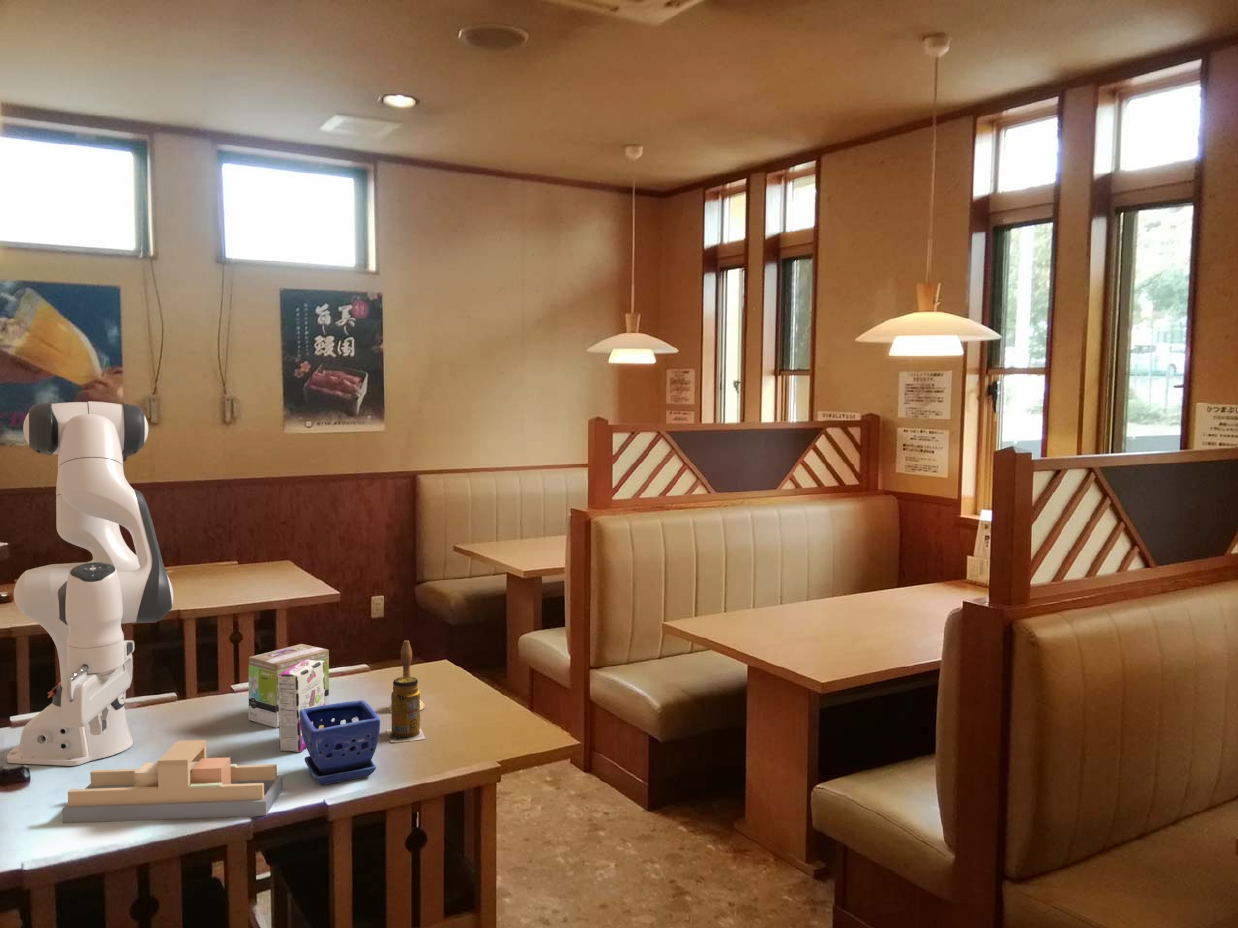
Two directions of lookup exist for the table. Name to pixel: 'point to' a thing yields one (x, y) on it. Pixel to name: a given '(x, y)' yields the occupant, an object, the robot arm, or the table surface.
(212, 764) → the terracotta cube
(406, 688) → the condiment
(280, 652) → the tea box
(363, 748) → the flower pot
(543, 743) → the table surface
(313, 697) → the candy bar box
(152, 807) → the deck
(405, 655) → the hand bell
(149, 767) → the maple bar
